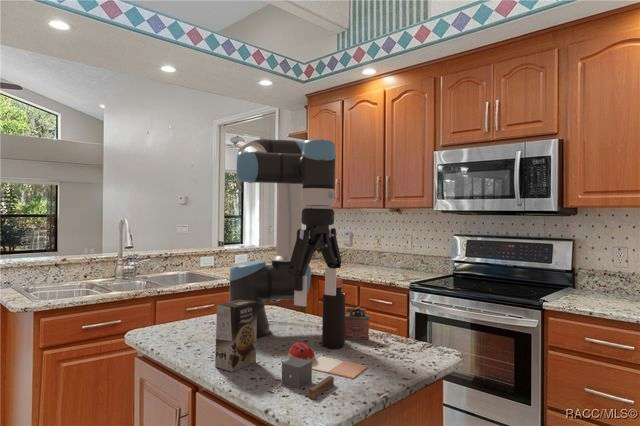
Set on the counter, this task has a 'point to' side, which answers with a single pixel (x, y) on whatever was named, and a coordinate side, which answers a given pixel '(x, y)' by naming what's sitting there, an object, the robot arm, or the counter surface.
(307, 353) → the ladybug figurine
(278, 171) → the robot arm
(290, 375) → the die
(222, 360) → the coffee box
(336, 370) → the track
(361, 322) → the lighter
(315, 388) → the brown bar
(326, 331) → the bottle
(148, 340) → the counter surface
